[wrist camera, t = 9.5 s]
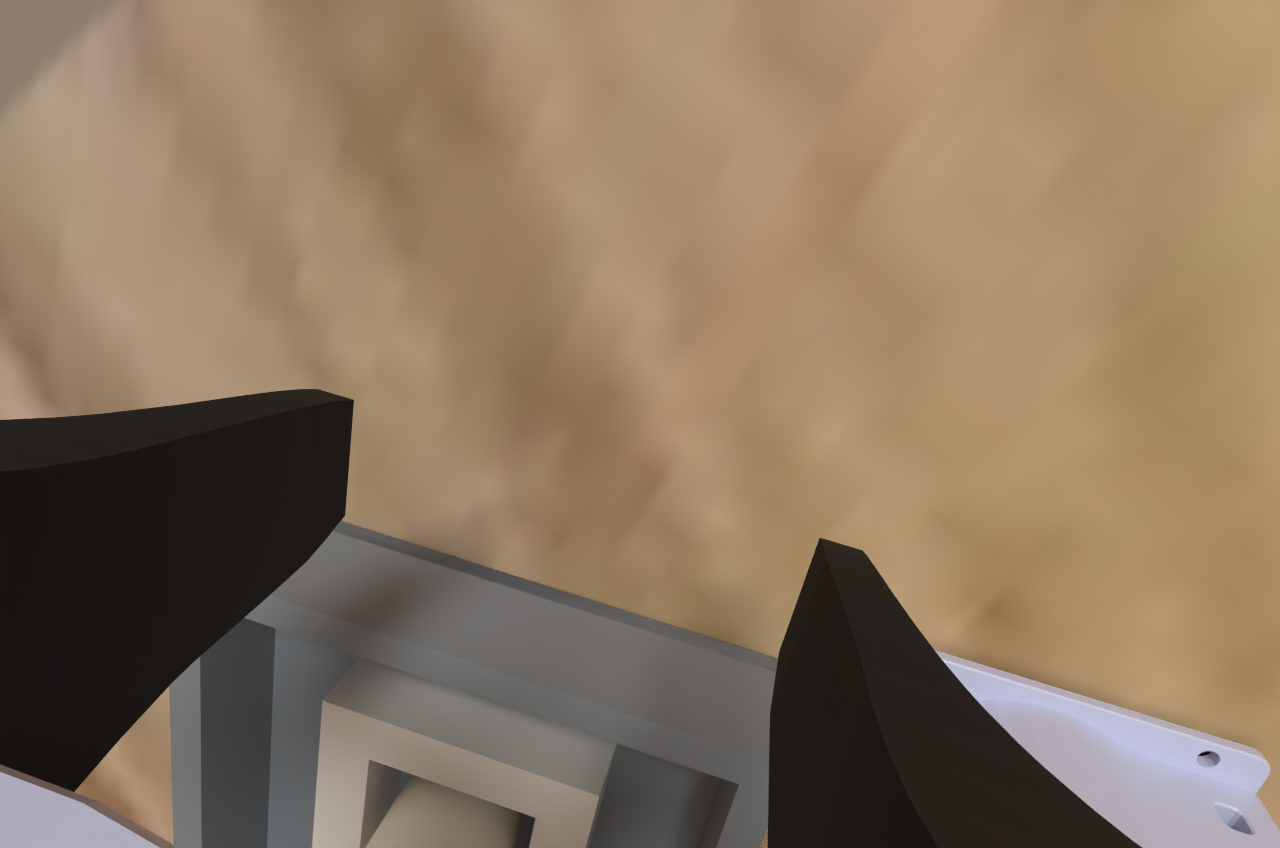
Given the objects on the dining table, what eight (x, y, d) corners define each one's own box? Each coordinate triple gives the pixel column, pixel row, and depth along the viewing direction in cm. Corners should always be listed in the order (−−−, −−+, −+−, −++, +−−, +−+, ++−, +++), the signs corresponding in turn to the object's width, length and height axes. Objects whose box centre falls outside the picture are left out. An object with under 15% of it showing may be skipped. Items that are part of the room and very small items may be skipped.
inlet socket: (621, 730, 24) (599, 796, 22) (572, 910, 27) (548, 985, 25) (369, 646, 25) (322, 700, 23) (351, 830, 28) (308, 894, 26)
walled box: (794, 664, 23) (789, 768, 19) (669, 1004, 29) (647, 1132, 25) (263, 496, 25) (165, 561, 21) (252, 849, 31) (176, 946, 27)
